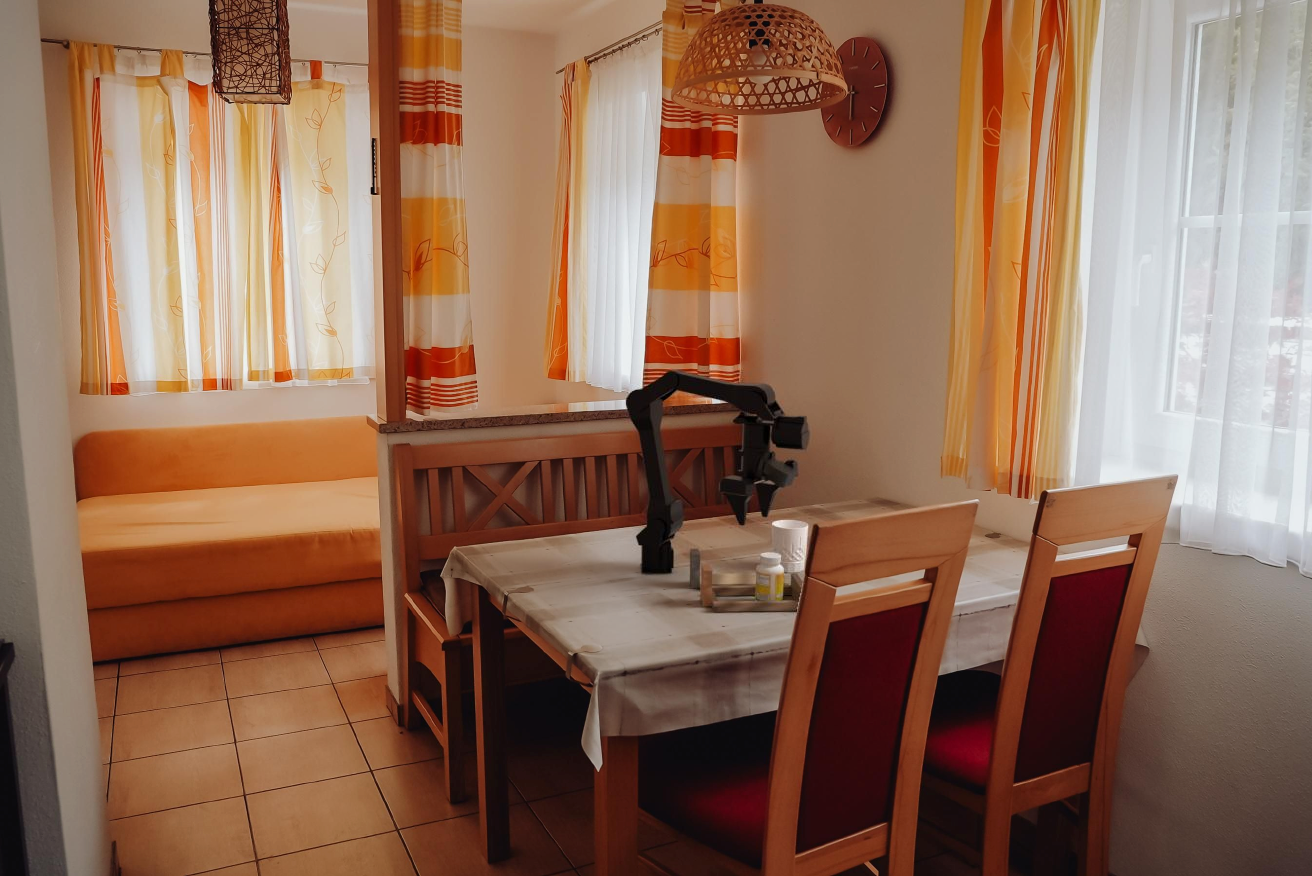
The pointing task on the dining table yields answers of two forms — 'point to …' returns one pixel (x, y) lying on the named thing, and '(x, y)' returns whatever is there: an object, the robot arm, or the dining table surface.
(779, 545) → the white cup
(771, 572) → the supplement bottle
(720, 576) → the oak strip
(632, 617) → the dining table surface
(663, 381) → the robot arm
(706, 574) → the wooden tray
